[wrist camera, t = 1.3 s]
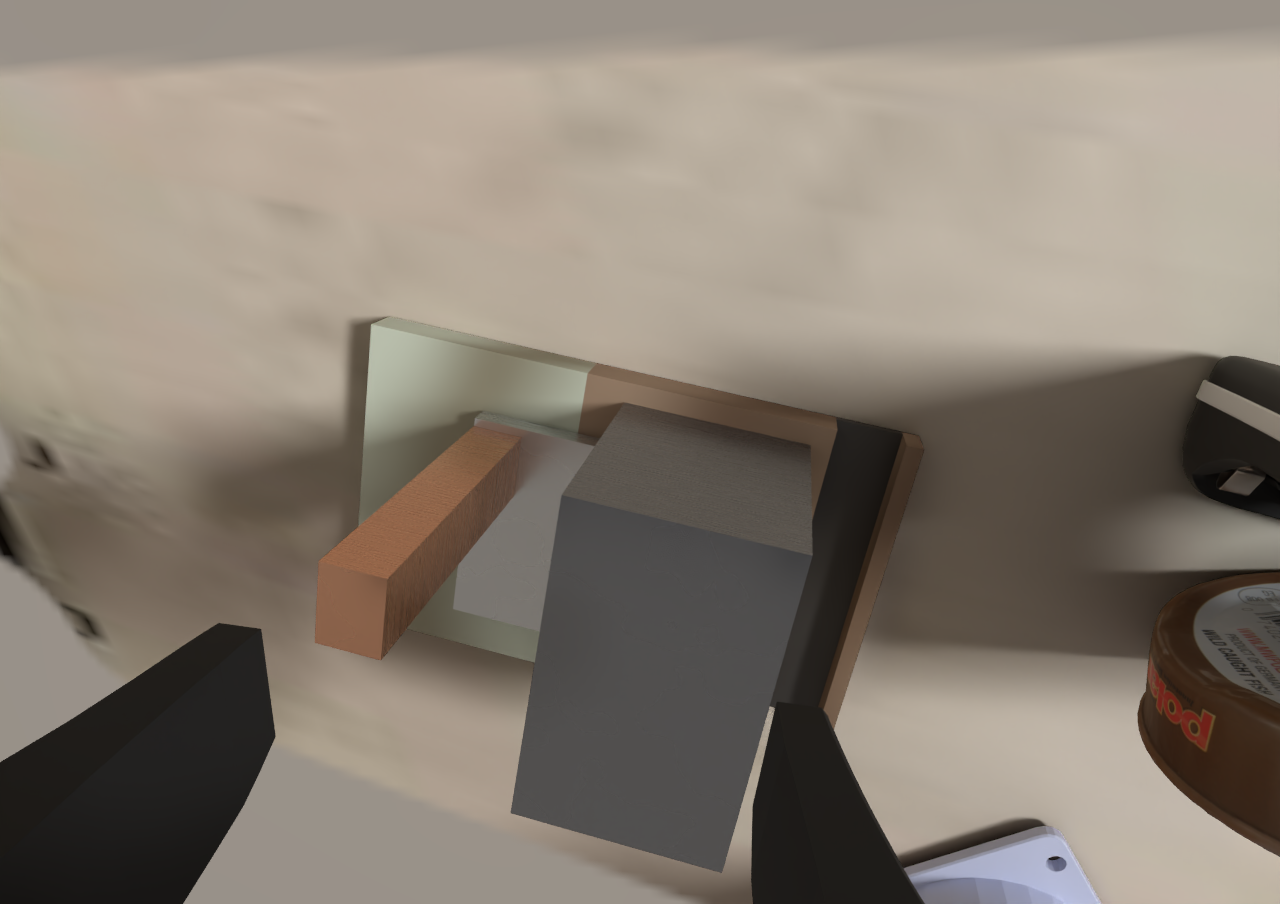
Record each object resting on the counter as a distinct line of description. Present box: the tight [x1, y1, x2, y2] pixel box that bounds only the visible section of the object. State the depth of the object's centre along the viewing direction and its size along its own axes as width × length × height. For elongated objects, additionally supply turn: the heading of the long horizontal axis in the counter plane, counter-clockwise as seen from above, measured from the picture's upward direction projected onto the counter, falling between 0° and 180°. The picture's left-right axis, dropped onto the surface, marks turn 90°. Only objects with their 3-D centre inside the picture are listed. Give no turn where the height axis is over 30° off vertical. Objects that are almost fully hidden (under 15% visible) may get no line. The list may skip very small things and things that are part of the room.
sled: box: [315, 411, 600, 660], centre depth 18 cm, size 8×5×8 cm
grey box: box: [511, 403, 813, 873], centre depth 19 cm, size 4×7×6 cm, turn 169°
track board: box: [358, 317, 924, 730], centre depth 23 cm, size 14×8×1 cm, turn 79°
